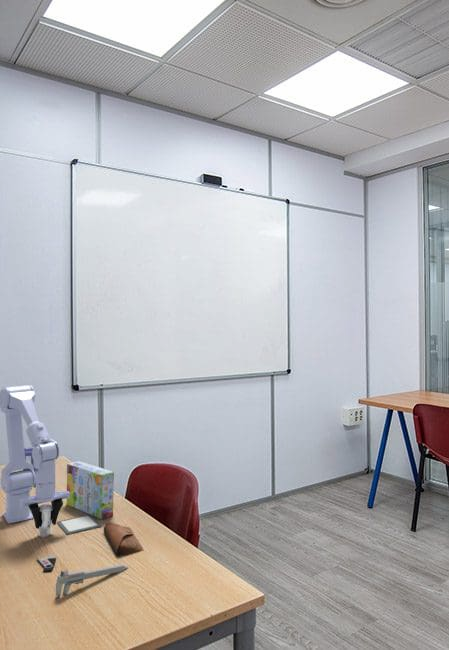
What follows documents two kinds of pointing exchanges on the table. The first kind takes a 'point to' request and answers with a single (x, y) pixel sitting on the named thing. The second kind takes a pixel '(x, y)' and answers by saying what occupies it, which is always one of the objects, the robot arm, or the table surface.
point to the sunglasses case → (122, 539)
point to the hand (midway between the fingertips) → (45, 525)
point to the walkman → (29, 457)
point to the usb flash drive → (48, 562)
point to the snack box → (90, 489)
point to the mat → (78, 524)
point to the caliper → (82, 577)
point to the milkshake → (45, 519)
